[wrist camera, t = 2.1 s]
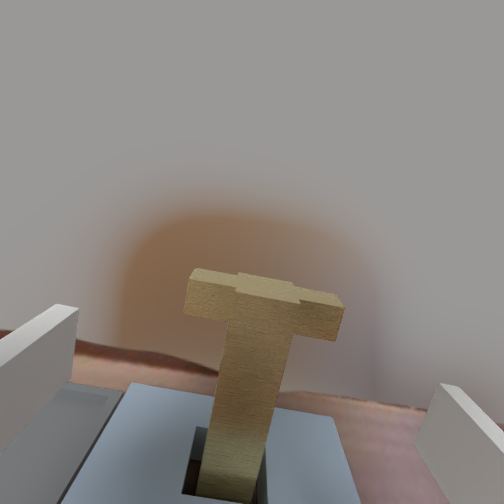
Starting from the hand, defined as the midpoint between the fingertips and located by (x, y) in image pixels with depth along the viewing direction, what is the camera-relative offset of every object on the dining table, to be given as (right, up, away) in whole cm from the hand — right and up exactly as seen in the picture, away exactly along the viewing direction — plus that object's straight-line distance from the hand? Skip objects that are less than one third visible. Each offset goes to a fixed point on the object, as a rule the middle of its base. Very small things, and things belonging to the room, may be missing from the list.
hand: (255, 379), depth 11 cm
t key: (-3, -15, +14) cm, 21 cm away
